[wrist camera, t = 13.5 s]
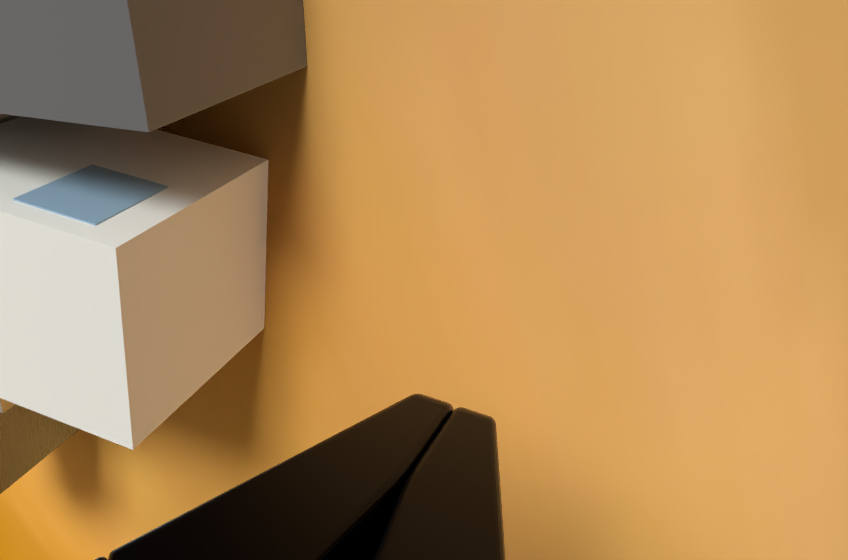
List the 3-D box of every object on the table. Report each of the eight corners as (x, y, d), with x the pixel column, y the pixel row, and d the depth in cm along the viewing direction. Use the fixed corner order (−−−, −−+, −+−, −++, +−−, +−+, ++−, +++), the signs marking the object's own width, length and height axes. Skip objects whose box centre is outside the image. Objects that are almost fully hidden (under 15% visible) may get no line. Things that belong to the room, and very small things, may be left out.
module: (271, 157, 15) (115, 246, 11) (266, 327, 17) (133, 451, 13) (64, 101, 16) (-139, 166, 13) (82, 267, 18) (-87, 364, 15)
